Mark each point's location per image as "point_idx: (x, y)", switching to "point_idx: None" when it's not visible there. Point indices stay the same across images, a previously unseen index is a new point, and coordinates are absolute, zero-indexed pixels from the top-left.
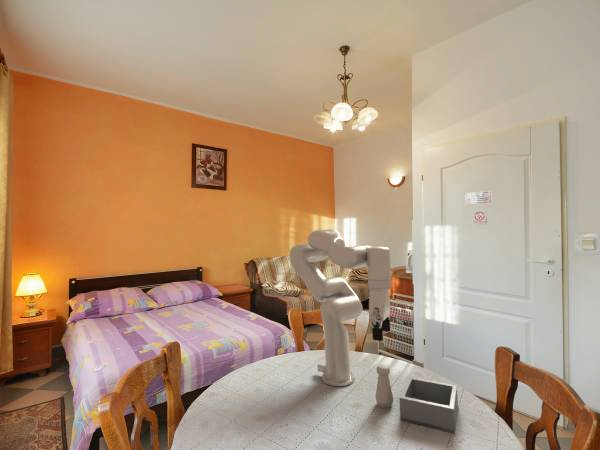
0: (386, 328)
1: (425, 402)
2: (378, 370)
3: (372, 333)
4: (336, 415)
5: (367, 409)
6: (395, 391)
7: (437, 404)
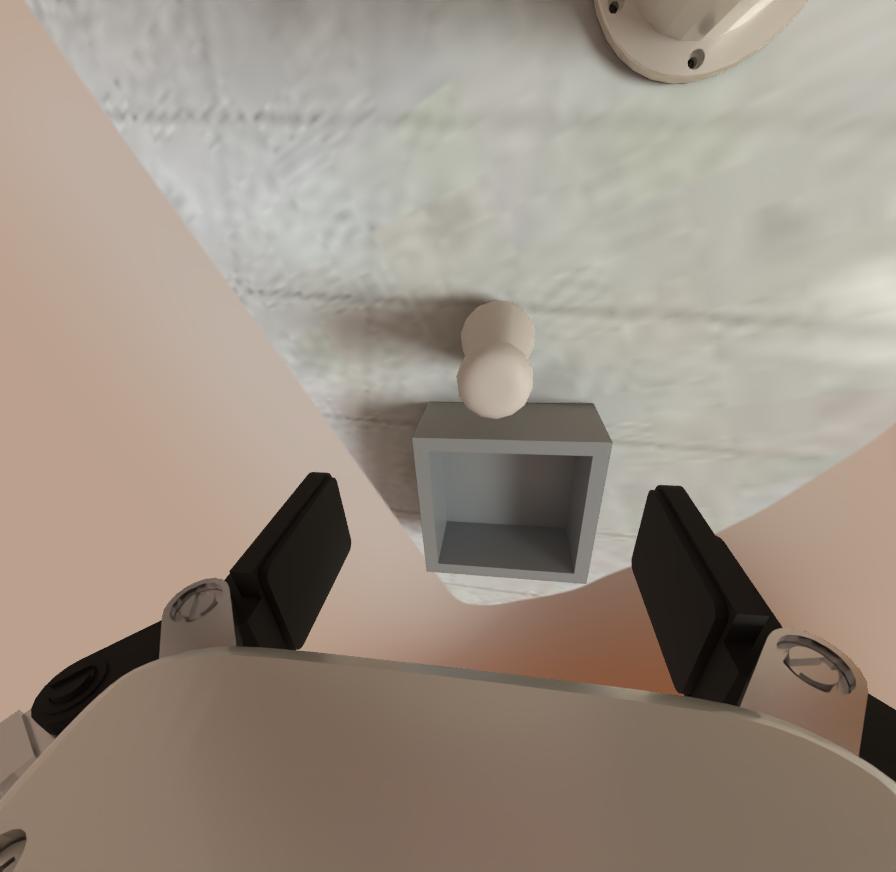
0: (648, 564)
1: (424, 511)
2: (461, 365)
3: (280, 510)
4: (335, 165)
5: (440, 277)
6: (627, 344)
7: (430, 539)
